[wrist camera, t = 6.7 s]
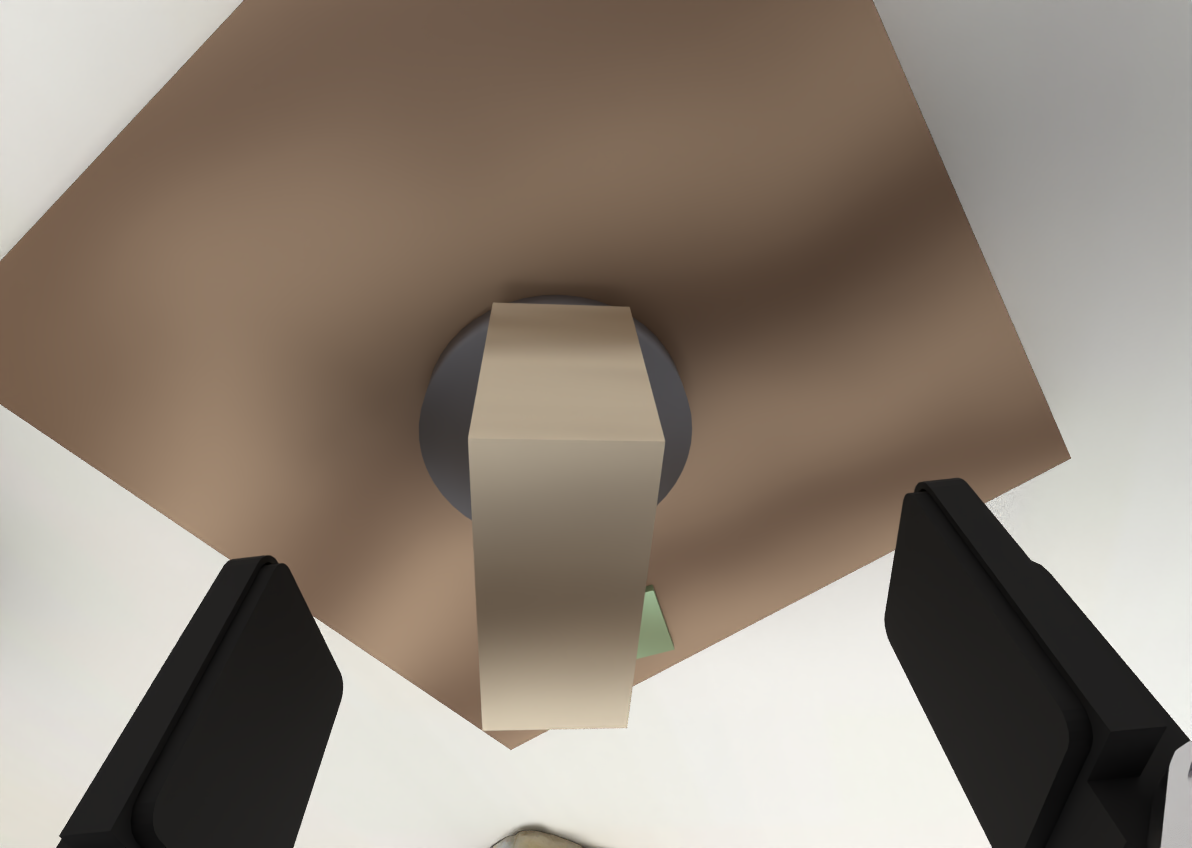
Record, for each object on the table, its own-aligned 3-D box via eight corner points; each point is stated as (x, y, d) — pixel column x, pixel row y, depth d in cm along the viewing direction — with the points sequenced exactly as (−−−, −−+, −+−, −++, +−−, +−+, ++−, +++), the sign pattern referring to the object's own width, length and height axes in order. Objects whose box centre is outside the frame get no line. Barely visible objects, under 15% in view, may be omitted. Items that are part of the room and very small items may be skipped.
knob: (414, 280, 13) (340, 436, 8) (701, 290, 13) (782, 443, 9) (448, 672, 19) (416, 889, 14) (646, 670, 20) (676, 880, 15)
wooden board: (1034, 425, 18) (1076, 463, 17) (512, 708, 23) (510, 755, 22) (657, -400, 10) (675, -469, 8) (-28, 318, 15) (-90, 353, 13)
